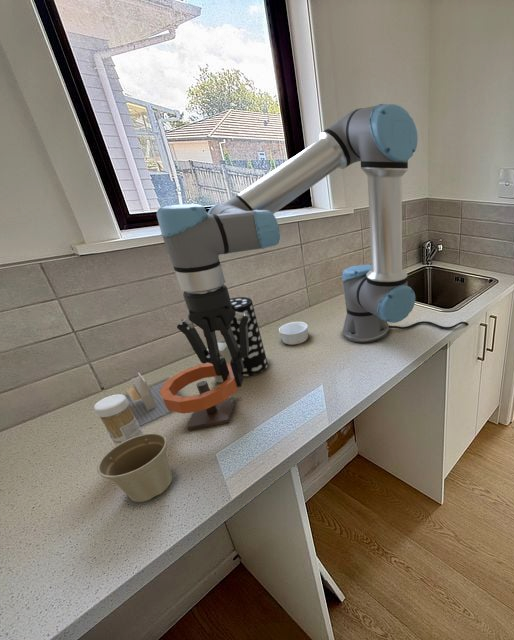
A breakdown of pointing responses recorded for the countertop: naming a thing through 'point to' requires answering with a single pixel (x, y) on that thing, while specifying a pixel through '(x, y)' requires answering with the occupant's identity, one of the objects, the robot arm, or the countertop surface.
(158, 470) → the flower pot
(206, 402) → the ring
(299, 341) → the ramekin
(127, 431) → the sprinkles bottle
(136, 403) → the architectural model
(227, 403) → the stand
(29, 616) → the countertop surface
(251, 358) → the spotted tube
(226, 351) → the pale small box
